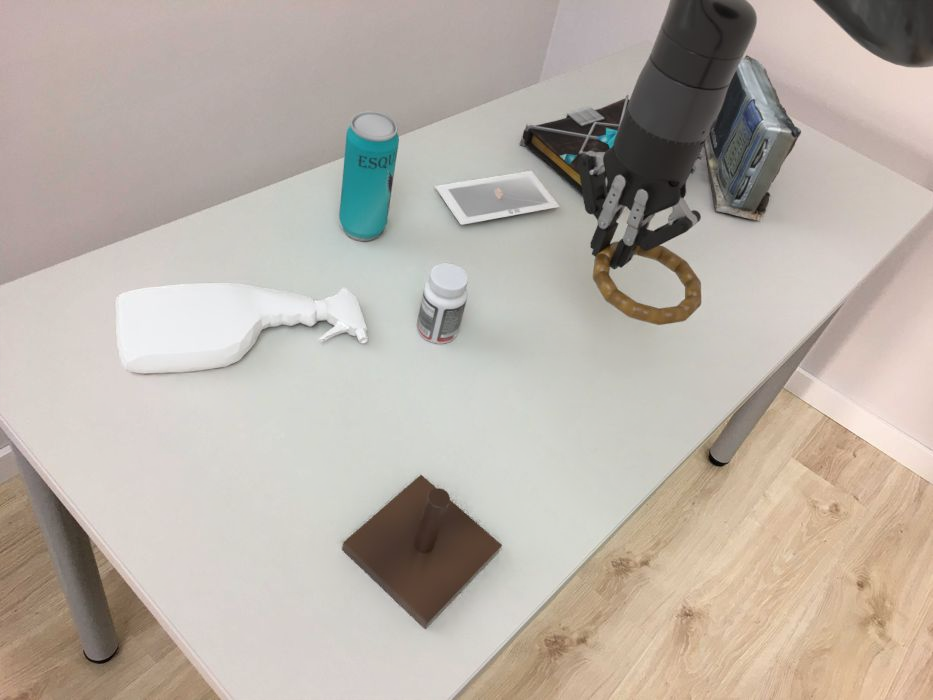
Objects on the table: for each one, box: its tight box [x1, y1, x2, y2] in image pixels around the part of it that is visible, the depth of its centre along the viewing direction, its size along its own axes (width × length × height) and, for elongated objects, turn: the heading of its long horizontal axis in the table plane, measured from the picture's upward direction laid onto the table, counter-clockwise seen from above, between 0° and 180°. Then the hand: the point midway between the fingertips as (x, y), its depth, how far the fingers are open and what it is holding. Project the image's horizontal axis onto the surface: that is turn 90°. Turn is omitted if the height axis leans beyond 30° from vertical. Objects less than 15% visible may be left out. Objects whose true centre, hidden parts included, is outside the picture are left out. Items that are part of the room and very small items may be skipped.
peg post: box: [341, 474, 503, 630], centre depth 67 cm, size 10×10×10 cm
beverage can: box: [338, 110, 400, 242], centre depth 91 cm, size 6×6×15 cm
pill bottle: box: [416, 262, 469, 345], centre depth 85 cm, size 5×5×8 cm
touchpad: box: [434, 170, 560, 226], centre depth 104 cm, size 8×15×2 cm, turn 117°
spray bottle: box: [114, 282, 369, 374], centre depth 82 cm, size 3×11×24 cm
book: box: [519, 94, 704, 195], centre depth 115 cm, size 22×17×5 cm
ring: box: [592, 240, 703, 326], centre depth 80 cm, size 11×11×2 cm
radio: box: [703, 54, 802, 221], centre depth 115 cm, size 23×9×15 cm, turn 168°
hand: (607, 258), depth 82 cm, fingers closed on ring, 1 cm apart
